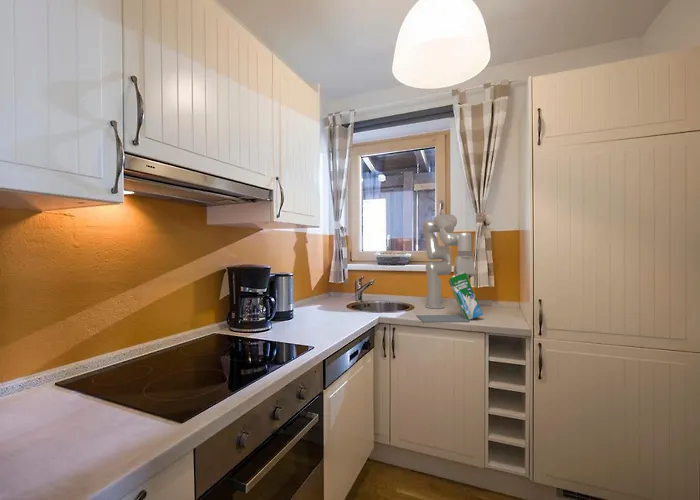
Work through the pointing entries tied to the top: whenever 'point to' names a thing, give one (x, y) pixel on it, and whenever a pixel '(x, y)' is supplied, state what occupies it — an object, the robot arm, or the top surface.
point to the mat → (442, 318)
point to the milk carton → (465, 296)
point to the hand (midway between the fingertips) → (464, 286)
